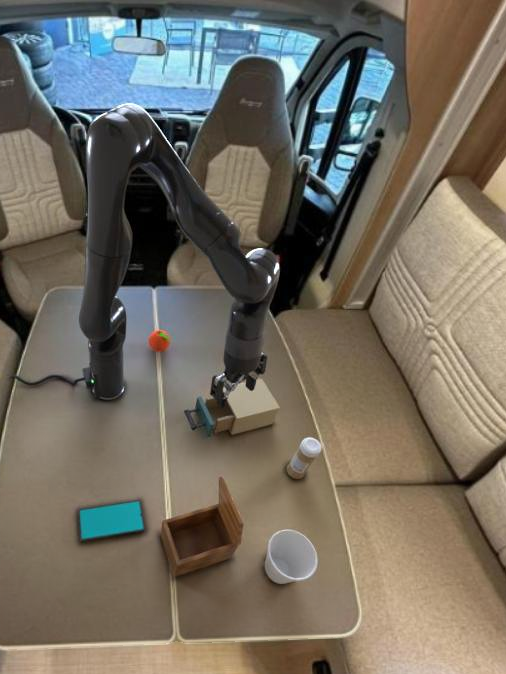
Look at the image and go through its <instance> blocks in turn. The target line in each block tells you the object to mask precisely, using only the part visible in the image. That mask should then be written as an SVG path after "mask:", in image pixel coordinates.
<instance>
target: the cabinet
mask: <svg viewBox="0 0 506 674" xmlns="http://www.w3.org/2000/svg"><path fill="white" fill-rule="evenodd" d="M245 384H246V381H244V382H240V383H239V384H238V385H237V387H236V388H235V390H234V391H231V392H230V394H229V395H228V399H227V403H228V405H229V406H230V408H231V410H232V412H233V414H234V416H235V421H234V424H233V427H232V428H231V429H228V431H229V433H230V435H232V436H234V435H236V434H240V433H244V432H249V431H252V430H256V429H260V428H263V427H267V426H270V425H273V423H274V421H275V419H276V418H277V415H278V413H279V411H280V409H281V408H280V406H279V403H278V402H277V400H276V399H275V397H274V396H273V395H272V392H271V391H270V389H269V388H268V386H267V385H266V383H265V382H264V380H263V378H258V379H257V380H256V385H255V388H254V390H253V391H250V390H249V389H248V388H247V387H246V386H245ZM230 386H232V384H231V385H230ZM225 391H226V388H225V387H224V388H223V392H224V393H225Z"/></svg>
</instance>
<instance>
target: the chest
mask: <svg viewBox="0 0 506 674" xmlns="http://www.w3.org/2000/svg"><path fill="white" fill-rule="evenodd" d="M159 534H160V539H161V540H162V544H163V548H164V550H165V554H166V557H167V561H168V563H169V567H170V569H171V573H172V575H173V578H176V577H178V576H182V575H184V574H185V575H186V574H189V573H191V572H194V571H196V570H199V569H203V568H205V567H208V566H211V565H214V564H215V565H216V564H218V563H221V562H225V561H227V560H229V559H231V558H232V557H233V555H234V553H235V552H236V550H237V548H239V545H237V544H236V542H235V540H234V537H233V535H232V533H231V530H230V528H229V526H228V523H227V521H226V519H225V517H224V514H223V512H222V510H221V507H220V505H219V503H216V504H213V505H209V506H207V507H203V508H199V509H196V510H193V511H189V512H186V513H182V514H180V515H176V516H173V517H169V518H166V519H164V520H162V521H161V528H160V533H159Z"/></svg>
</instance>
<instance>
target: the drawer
mask: <svg viewBox="0 0 506 674" xmlns="http://www.w3.org/2000/svg"><path fill="white" fill-rule="evenodd" d="M183 413H184V415H185V417H186V419H187V422H188V424H189V426H190V429H191V430H192V431H195V430H197V429H198V428H202V429H203V432H204V434H205V436H206V438H207V439H208V438H211V437H212V435H213V432H214V433H219V432H224V431H228V430H229V429H231V428H232V427H233V424H234V421H235V416H234V414H233V412H232V410H231V408H230V406H229V405H228V403H227V407H226V408H221V407H220V406H219V405H218V404H217V400H216V399H215V398H214V397H213V396H207V397H206V399H205V402H204V399H203V397H202V396H197V397H196V401H195V407H194V408H193V409H188V408H187V409H184V412H183ZM192 413H195V415H196V417H197V419H198V421H199V424H196V423H195V421H194V418H193V416H192Z"/></svg>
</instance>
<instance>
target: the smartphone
mask: <svg viewBox="0 0 506 674" xmlns="http://www.w3.org/2000/svg"><path fill="white" fill-rule="evenodd" d="M77 518H78V519H77V520H78V535H79V541H80V542H81V543H82V542H88V541H93V540H99V539H105V538H112V537H118V536H125V535H131V534H135V533H141V532H144V531H146V530H145V524H144V523H145V522H144V517H143V511H142V505H141V500H140V499H138V500H132V501H126V502H118V503H111V504H106V505H99V506H94V507H93V506H92V507H86V508H79V509H77Z"/></svg>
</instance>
